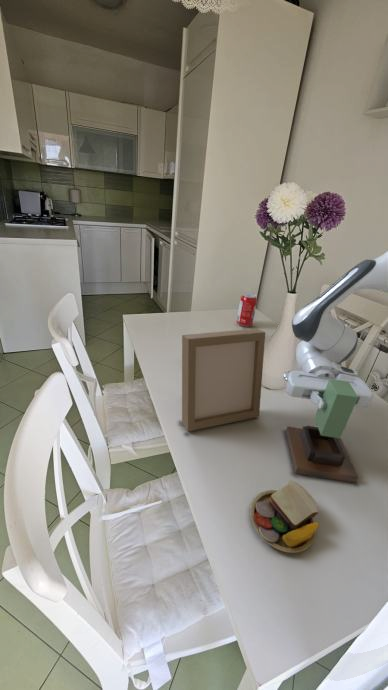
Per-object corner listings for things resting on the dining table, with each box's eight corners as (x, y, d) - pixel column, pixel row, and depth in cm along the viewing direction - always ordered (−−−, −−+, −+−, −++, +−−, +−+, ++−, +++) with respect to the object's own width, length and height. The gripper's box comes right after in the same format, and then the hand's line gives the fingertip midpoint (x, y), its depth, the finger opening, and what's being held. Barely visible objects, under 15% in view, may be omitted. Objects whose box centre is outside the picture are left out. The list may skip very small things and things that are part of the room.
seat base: (336, 439, 83) (342, 425, 81) (355, 482, 71) (363, 467, 68) (285, 431, 84) (289, 417, 81) (295, 473, 71) (300, 458, 69)
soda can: (232, 323, 149) (237, 293, 142) (243, 319, 154) (248, 291, 147) (245, 328, 144) (251, 298, 137) (255, 325, 149) (261, 296, 142)
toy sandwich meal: (237, 503, 63) (241, 488, 61) (290, 486, 68) (295, 471, 66) (273, 566, 53) (279, 551, 51) (331, 540, 58) (339, 525, 56)
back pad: (332, 421, 76) (348, 381, 70) (340, 438, 71) (358, 397, 65) (314, 418, 76) (329, 378, 71) (320, 435, 71) (337, 394, 65)
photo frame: (258, 419, 87) (277, 341, 76) (187, 434, 79) (197, 350, 68) (234, 389, 99) (247, 318, 88) (170, 399, 91) (176, 323, 80)
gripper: (284, 360, 81) (294, 391, 69) (362, 371, 80) (387, 404, 68) (279, 380, 84) (288, 413, 71) (354, 391, 83) (376, 426, 71)
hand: (336, 409), depth 70 cm, fingers closed on back pad, 4 cm apart
